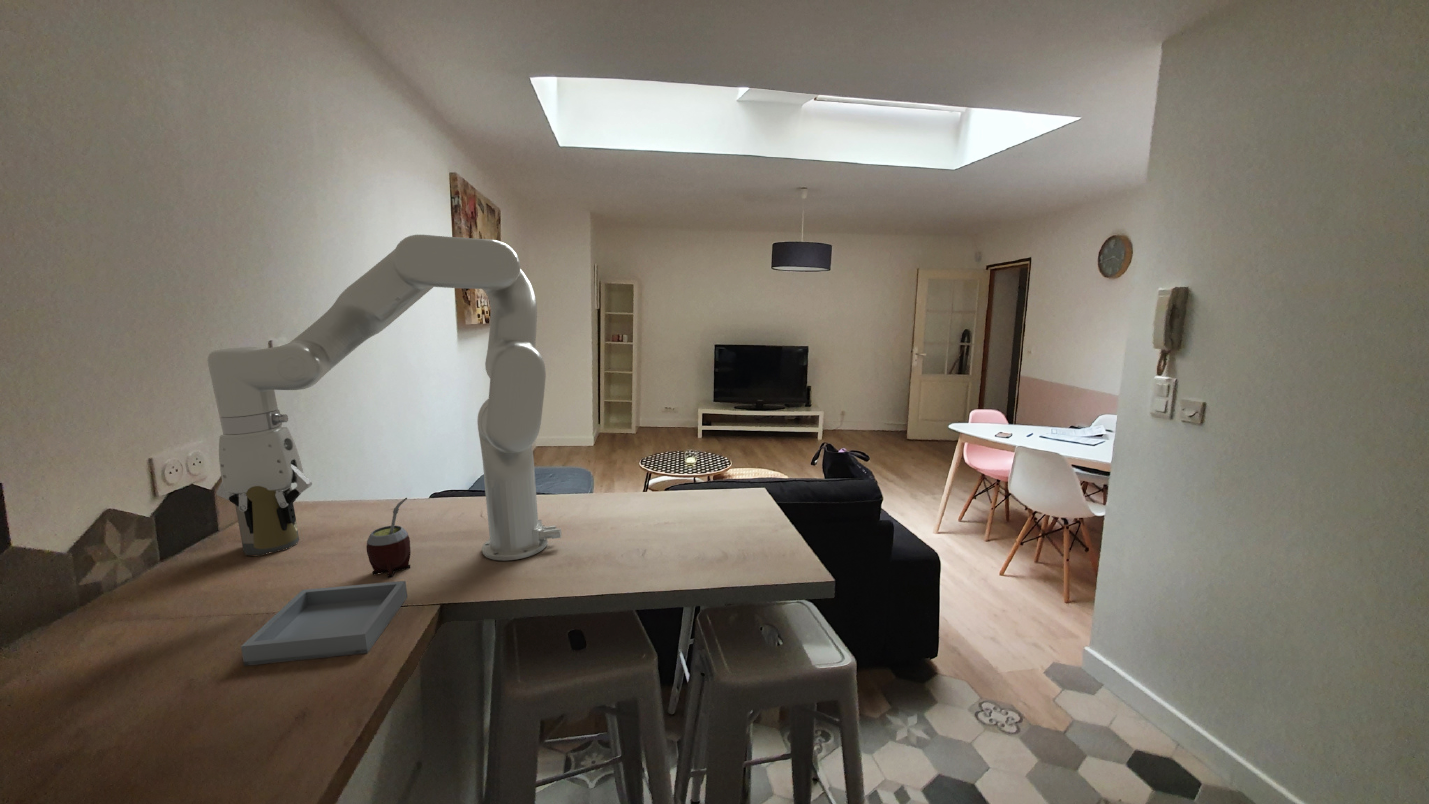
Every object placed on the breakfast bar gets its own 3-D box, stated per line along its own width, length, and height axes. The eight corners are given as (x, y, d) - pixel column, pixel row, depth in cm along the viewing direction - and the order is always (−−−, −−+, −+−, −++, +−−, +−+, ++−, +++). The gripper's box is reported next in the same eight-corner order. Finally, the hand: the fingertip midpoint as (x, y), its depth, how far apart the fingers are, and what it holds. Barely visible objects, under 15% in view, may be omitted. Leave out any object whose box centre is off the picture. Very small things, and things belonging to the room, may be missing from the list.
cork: (274, 549, 94) (260, 485, 92) (244, 547, 95) (230, 484, 93) (306, 534, 100) (294, 473, 98) (278, 532, 101) (265, 473, 99)
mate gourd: (373, 566, 110) (363, 491, 108) (419, 558, 113) (410, 485, 111) (367, 583, 103) (356, 504, 101) (416, 575, 106) (407, 497, 104)
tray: (407, 597, 99) (405, 580, 98) (367, 653, 83) (364, 634, 83) (305, 606, 96) (302, 589, 96) (244, 665, 81) (240, 646, 80)
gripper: (319, 415, 98) (337, 515, 102) (210, 422, 96) (232, 525, 100) (295, 424, 91) (315, 532, 95) (176, 433, 89) (202, 543, 92)
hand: (273, 527), depth 97 cm, fingers closed on cork, 3 cm apart
